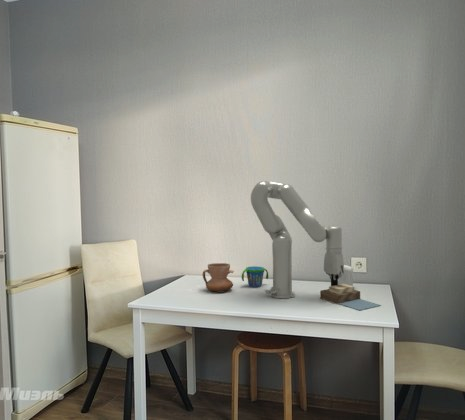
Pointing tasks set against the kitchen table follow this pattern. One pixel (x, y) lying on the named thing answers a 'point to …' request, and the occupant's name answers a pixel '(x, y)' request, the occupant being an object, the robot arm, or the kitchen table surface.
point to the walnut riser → (339, 296)
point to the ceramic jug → (218, 277)
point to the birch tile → (341, 289)
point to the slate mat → (359, 304)
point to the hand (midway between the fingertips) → (334, 287)
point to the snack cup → (254, 275)
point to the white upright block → (346, 276)
